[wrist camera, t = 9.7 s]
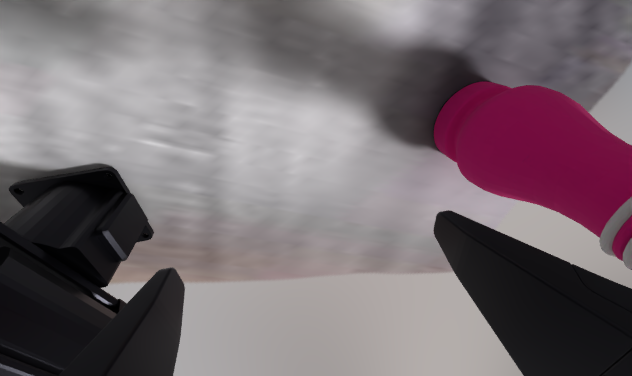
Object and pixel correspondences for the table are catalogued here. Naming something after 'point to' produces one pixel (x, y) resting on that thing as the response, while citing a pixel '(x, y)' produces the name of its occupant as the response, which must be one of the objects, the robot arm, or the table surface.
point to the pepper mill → (542, 156)
